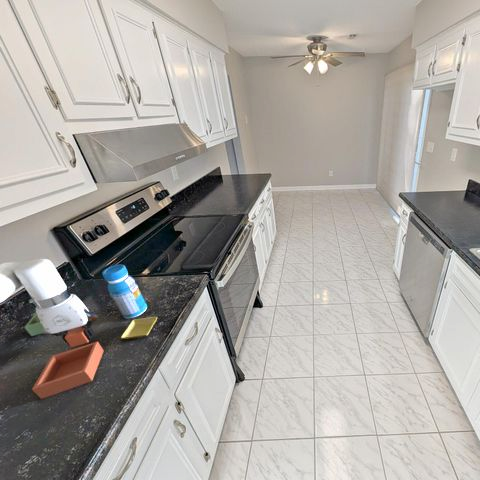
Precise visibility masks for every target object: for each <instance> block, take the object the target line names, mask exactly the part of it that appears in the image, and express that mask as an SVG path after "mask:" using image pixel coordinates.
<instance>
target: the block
mask: <svg viewBox="0 0 480 480" xmlns="http://www.w3.org/2000/svg"><path fill="white" fill-rule="evenodd" d="M67 331H68V333H67V335H66V336H65V339H66V341H67V342H68V343H69V345H70V346H69V345H68V346H69V347H70V348H75V347H79V346H83V345H86V344H89V342H90V340H88V339H87V337H86V336H85V334H84V333H83V332H84V330H83V329H82V328H81V327H77V328H73V329H69V330H67Z"/></svg>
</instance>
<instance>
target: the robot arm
mask: <svg viewBox="0 0 480 480" xmlns="http://www.w3.org/2000/svg"><path fill="white" fill-rule="evenodd" d="M22 287H24V289H25V291H26V292H27V293H28V294H29V297H30V296H31V297H32V298H33V299H31V297H30V299H28V303H29V304H34V305H35V304H36V305H37V306H36V305H35V313H36V312H37V315H38V318H39V320H40V322H41V324H42V326H43V327H44V328H43V331H42V333H41V334H44V335H51V336H55V337H57V338H59V339H62V340H63V341H64V343H65V344H67V345H68V347H71V346H70V345H69V343H68V342H67V341H66V339H65V336H66V335H67V333H68V331H69V329H73V328H77V327H81V328H82V329H83V330H84V332H83V333H84V334H85V336H86V337H87V339H88V340H89V341H91V340H92V339H93V336H94V335H95V331H94V329H93V328H92V326H93V324H94V323H95V322H96V321H97V320H98V319H99V314H97V313H93V312H92V311H89V309H88V307H86V305H85V303H84V302H83V301H82V300H81V299H80V298H79V297H78V296H77V295H76V294H74V293H72V292H71V291H70V289H69V287H68V286H67V285H66V283H65V281H64V279H63V278H62V277H61V275H60V273H59V272H58V270H57V268H56V267H55V265H54V263H53V262H52V261H51V260H50V259H48V258H37V259H31V260H28V261H10V262H3V263H0V304H1V303H3V302H4V301H6V300H7V299H8V298H9V297H11V296H12V294H14V293H15V292H16V291H17V290H18V289H20V288H22ZM88 319H89V320H88Z"/></svg>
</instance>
